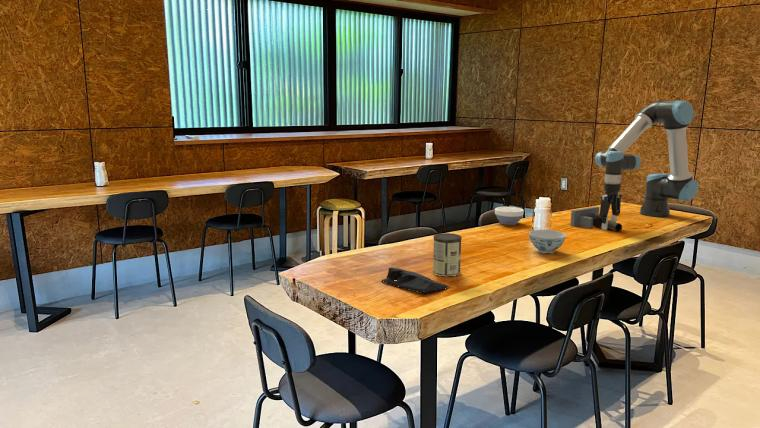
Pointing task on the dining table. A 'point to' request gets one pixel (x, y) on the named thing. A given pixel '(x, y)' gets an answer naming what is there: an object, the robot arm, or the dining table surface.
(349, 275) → the dining table surface
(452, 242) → the coffee can
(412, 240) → the dining table surface
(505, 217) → the bowl
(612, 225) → the black flashlight
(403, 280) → the black cloth
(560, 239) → the chinaware
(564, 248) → the dining table surface
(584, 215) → the socket block
